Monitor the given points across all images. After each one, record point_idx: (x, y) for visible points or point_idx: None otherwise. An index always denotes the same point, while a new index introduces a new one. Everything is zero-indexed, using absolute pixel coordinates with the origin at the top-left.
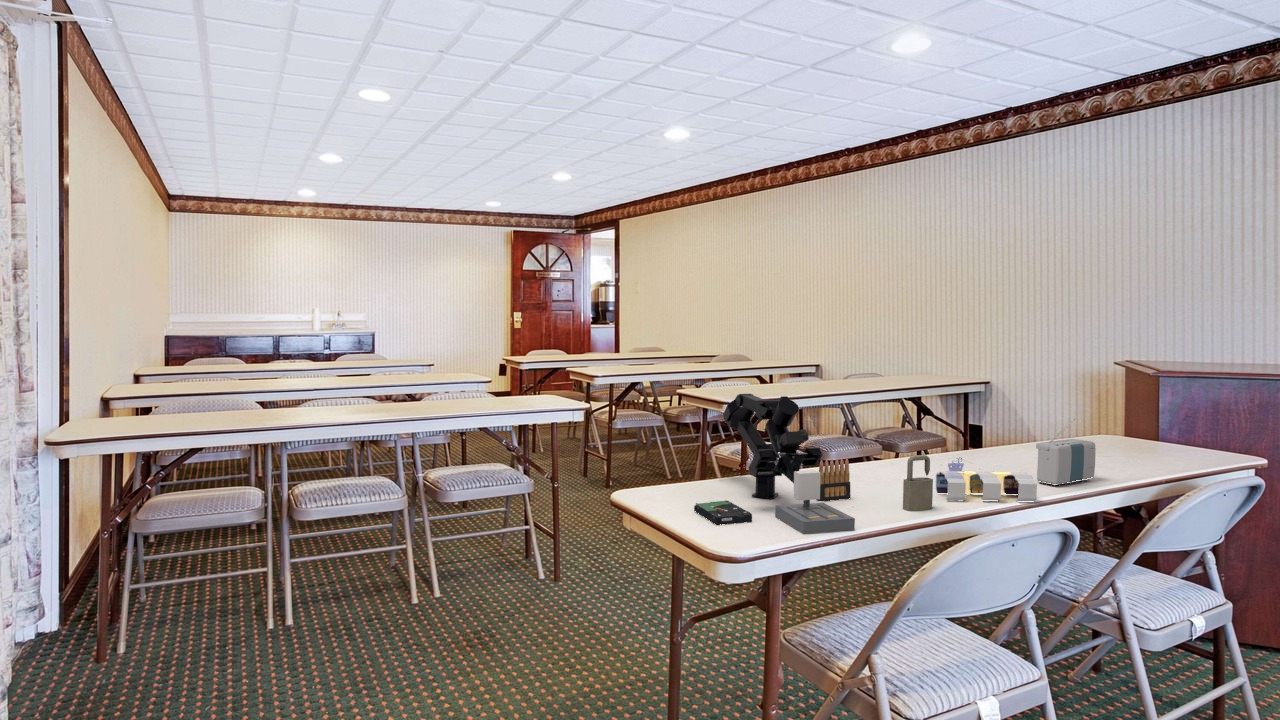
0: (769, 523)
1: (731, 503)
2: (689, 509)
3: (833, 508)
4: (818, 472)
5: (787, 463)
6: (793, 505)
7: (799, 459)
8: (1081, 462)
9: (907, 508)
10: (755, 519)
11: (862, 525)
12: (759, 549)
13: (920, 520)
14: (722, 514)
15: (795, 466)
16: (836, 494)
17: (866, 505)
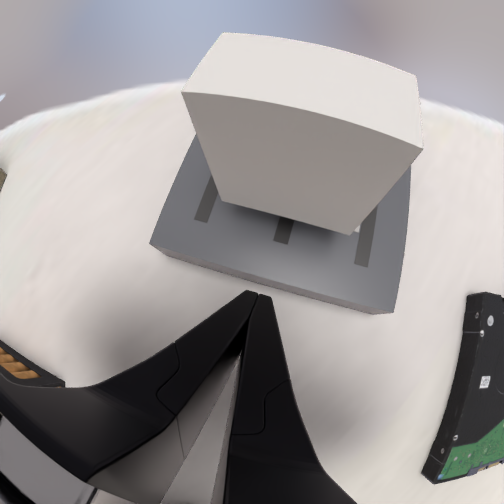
0: (435, 252)
1: (449, 451)
2: (491, 470)
3: (192, 153)
4: (229, 38)
5: (293, 471)
6: (315, 273)
7: (58, 406)
8: None
9: (2, 176)
10: (446, 317)
11: (180, 105)
12: (501, 125)
13: (55, 109)
14: None
15: (181, 398)
16: (9, 358)
17: (10, 260)
